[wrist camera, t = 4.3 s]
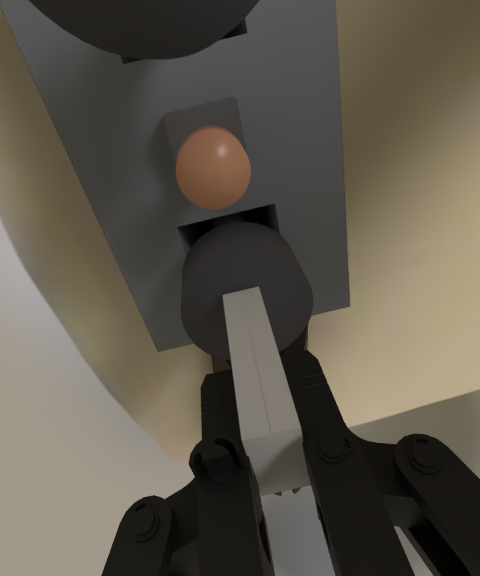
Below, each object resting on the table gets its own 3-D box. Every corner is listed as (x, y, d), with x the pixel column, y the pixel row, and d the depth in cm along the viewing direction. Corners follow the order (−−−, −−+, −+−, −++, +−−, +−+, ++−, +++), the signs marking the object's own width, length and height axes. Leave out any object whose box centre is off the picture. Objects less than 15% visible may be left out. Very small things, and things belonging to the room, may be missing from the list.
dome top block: (164, 113, 15) (152, 135, 11) (233, 96, 15) (250, 110, 11) (184, 182, 17) (181, 226, 12) (247, 167, 17) (266, 205, 12)
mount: (16, -105, 17) (-101, -215, 10) (268, -171, 17) (319, -329, 10) (166, 283, 29) (158, 351, 22) (313, 248, 28) (350, 306, 22)
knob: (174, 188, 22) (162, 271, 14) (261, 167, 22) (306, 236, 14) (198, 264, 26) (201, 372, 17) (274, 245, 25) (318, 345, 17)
